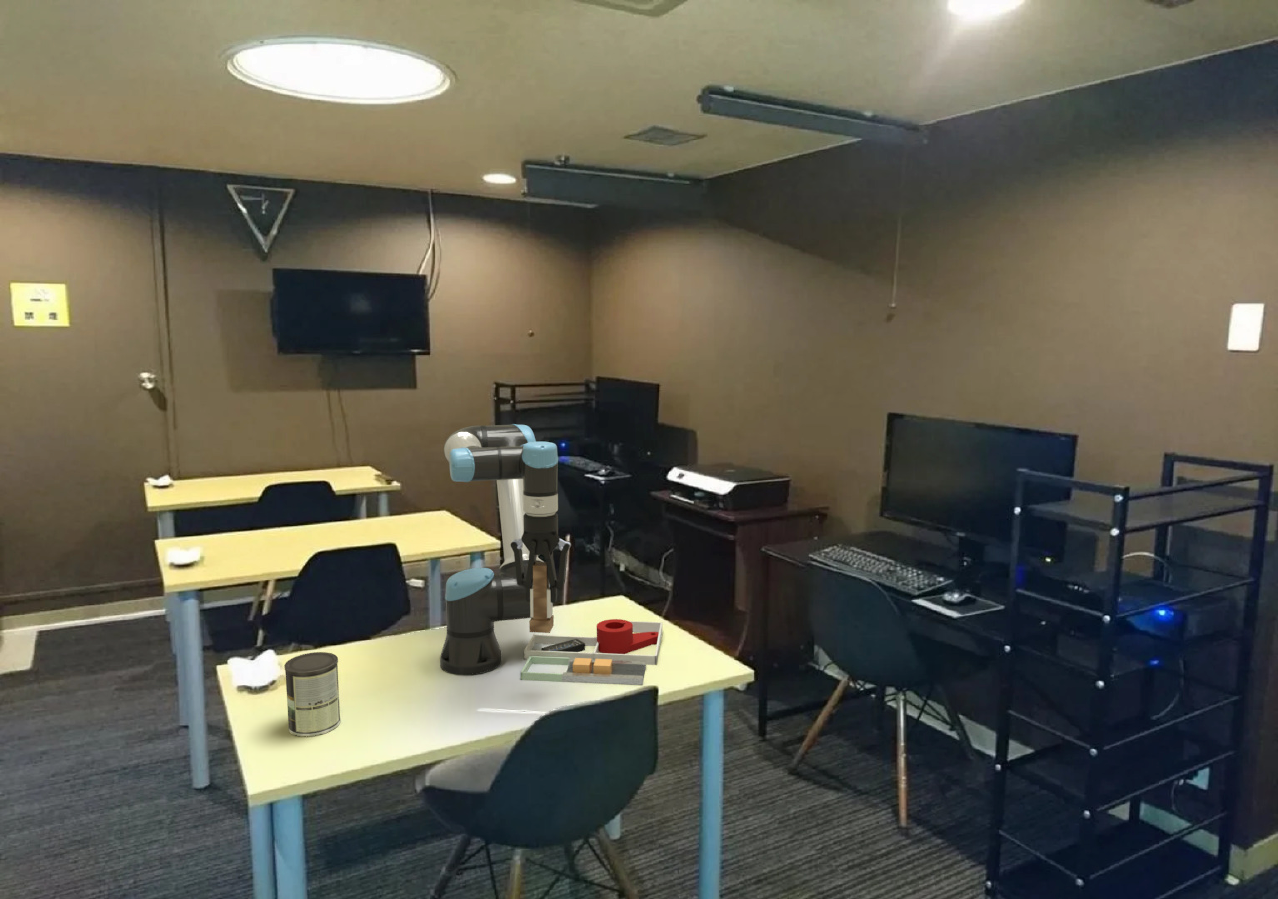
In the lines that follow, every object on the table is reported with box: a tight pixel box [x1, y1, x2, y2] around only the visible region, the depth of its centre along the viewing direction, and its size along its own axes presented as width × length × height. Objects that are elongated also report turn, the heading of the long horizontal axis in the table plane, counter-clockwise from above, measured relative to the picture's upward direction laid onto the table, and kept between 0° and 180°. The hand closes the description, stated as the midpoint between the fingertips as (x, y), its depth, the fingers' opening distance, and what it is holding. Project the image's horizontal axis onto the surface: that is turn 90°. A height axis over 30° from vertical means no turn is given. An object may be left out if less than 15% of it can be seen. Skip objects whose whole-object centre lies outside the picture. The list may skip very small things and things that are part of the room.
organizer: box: [523, 620, 663, 666], centre depth 211 cm, size 34×24×3 cm
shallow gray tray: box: [562, 659, 647, 686], centre depth 191 cm, size 19×10×2 cm, turn 85°
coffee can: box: [283, 651, 342, 738], centre depth 166 cm, size 10×10×14 cm
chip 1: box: [573, 658, 592, 673], centre depth 192 cm, size 4×4×3 cm
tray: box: [519, 656, 570, 682], centre depth 193 cm, size 10×10×2 cm
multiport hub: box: [540, 639, 586, 652], centre depth 205 cm, size 4×11×2 cm, turn 128°
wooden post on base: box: [529, 561, 555, 634], centre depth 177 cm, size 4×4×15 cm
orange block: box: [593, 659, 612, 674], centre depth 191 cm, size 4×4×3 cm
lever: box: [596, 618, 659, 654], centre depth 209 cm, size 18×9×7 cm, turn 117°
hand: (541, 615), depth 177 cm, fingers closed on wooden post on base, 3 cm apart
